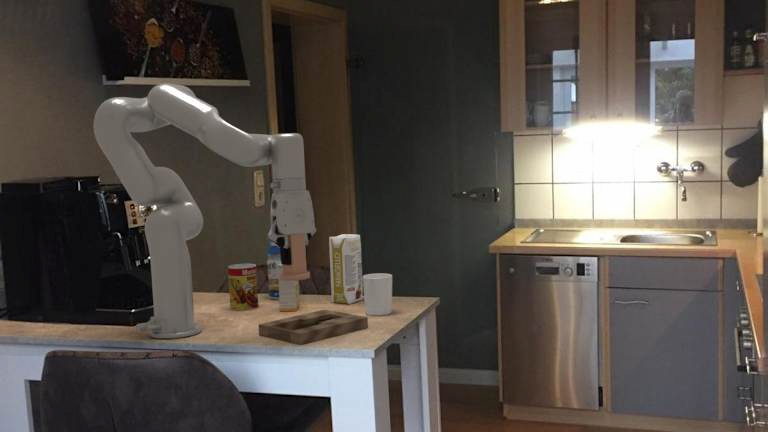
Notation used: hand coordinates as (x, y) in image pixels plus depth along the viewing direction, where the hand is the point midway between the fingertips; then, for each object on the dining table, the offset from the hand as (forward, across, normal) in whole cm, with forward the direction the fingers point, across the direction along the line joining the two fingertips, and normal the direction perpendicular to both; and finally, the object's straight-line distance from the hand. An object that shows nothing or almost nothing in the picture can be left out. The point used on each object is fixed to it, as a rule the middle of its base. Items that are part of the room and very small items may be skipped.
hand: (294, 262), depth 194 cm
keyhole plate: (+17, +5, 0) cm, 18 cm away
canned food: (+17, +12, +39) cm, 44 cm away
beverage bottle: (+18, +28, +42) cm, 53 cm away
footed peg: (+4, 0, 0) cm, 4 cm away
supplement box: (+18, +19, +27) cm, 37 cm away
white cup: (+18, +29, +2) cm, 34 cm away
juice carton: (+18, +35, +21) cm, 44 cm away
